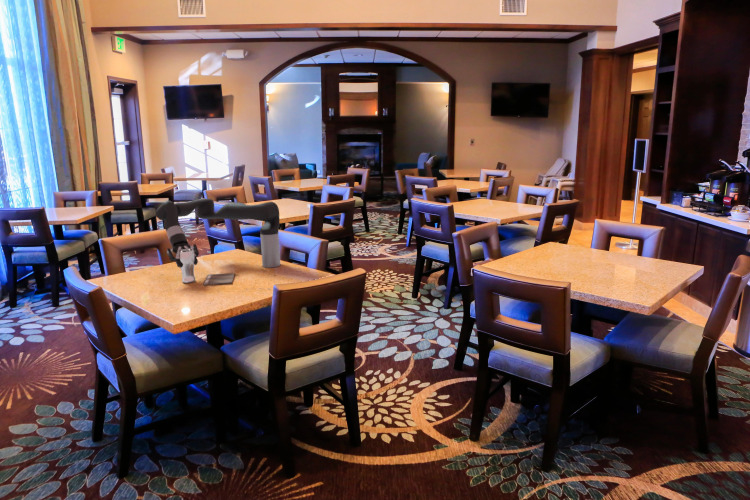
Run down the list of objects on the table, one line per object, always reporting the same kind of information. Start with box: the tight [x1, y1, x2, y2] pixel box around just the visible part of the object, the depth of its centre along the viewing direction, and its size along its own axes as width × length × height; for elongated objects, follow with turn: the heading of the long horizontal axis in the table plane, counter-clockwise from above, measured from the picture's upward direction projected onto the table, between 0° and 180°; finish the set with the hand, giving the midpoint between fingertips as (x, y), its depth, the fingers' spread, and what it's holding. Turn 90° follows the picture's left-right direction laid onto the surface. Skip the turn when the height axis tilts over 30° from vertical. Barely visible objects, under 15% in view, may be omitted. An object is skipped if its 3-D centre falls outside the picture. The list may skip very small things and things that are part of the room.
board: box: [202, 272, 236, 287], centre depth 259 cm, size 17×13×1 cm
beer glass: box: [178, 248, 196, 284], centre depth 255 cm, size 7×7×15 cm
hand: (188, 265), depth 254 cm, fingers closed on beer glass, 7 cm apart
